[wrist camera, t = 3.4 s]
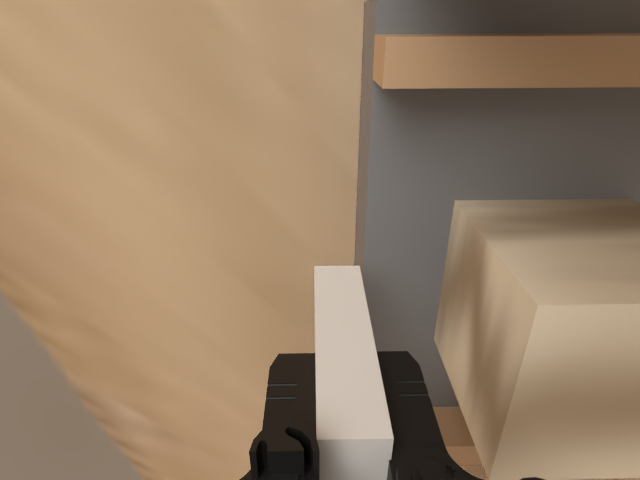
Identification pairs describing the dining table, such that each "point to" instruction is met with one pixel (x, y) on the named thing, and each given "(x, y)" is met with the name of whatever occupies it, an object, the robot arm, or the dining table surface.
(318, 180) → the dining table surface
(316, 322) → the robot arm
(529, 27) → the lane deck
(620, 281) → the maple block
